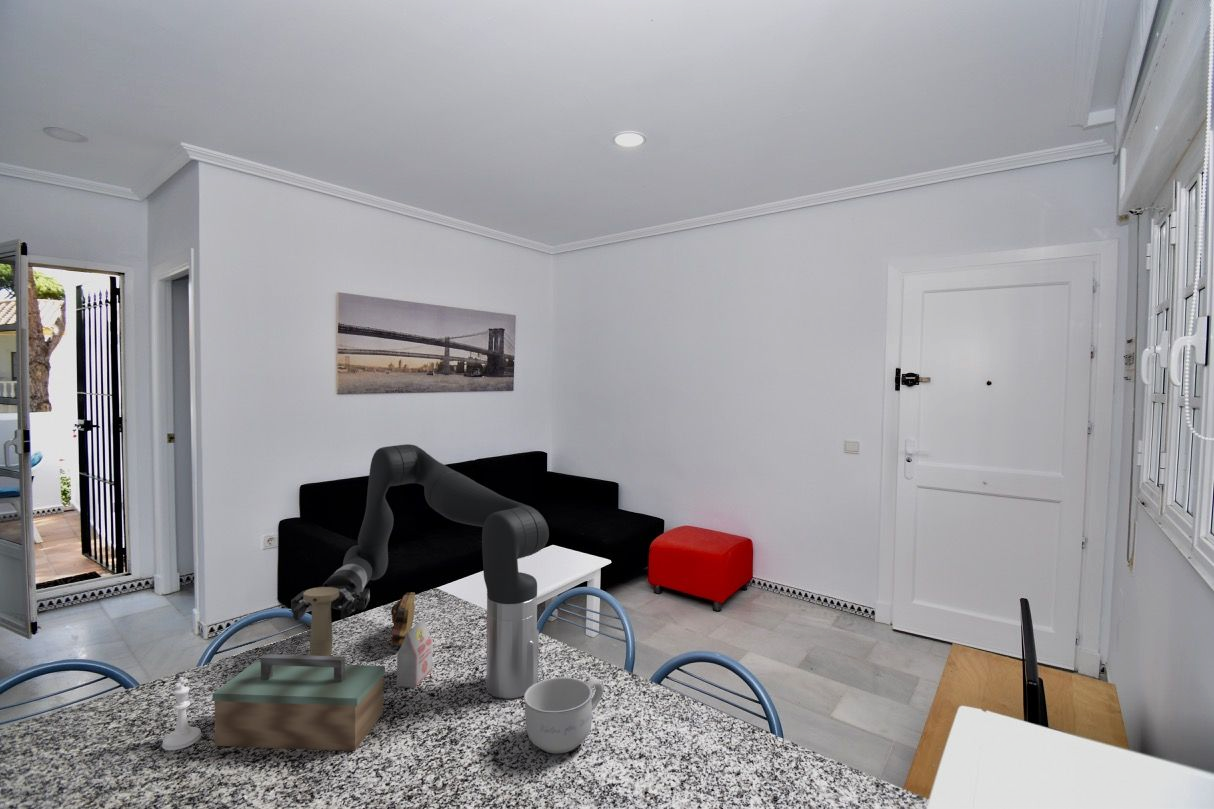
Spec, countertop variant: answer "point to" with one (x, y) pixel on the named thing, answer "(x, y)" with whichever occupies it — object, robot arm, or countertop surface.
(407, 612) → the wooden carving
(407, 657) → the milk carton
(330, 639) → the handle
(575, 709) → the teacup
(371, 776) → the countertop surface
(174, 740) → the chess piece
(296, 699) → the toolbox
